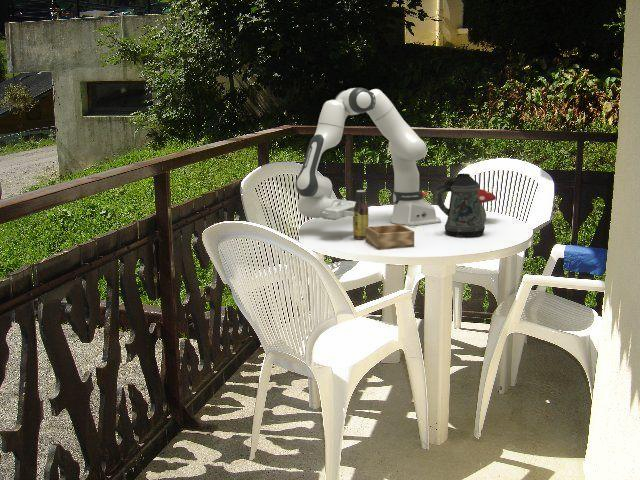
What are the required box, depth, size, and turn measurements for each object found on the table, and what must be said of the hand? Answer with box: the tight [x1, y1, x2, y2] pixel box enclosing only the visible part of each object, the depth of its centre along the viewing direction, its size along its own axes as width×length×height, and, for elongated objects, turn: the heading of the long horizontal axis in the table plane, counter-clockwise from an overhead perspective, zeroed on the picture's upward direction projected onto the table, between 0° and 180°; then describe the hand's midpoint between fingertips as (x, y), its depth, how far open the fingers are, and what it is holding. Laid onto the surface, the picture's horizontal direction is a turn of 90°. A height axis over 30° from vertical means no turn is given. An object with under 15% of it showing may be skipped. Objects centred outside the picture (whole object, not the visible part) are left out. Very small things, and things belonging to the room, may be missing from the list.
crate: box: [365, 224, 415, 251], centre depth 307 cm, size 15×15×6 cm
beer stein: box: [435, 173, 486, 239], centre depth 321 cm, size 16×19×25 cm
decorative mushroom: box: [478, 188, 497, 223], centre depth 347 cm, size 16×16×15 cm
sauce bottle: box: [352, 189, 370, 240], centre depth 317 cm, size 6×6×20 cm
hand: (360, 212), depth 316 cm, fingers open, 8 cm apart
